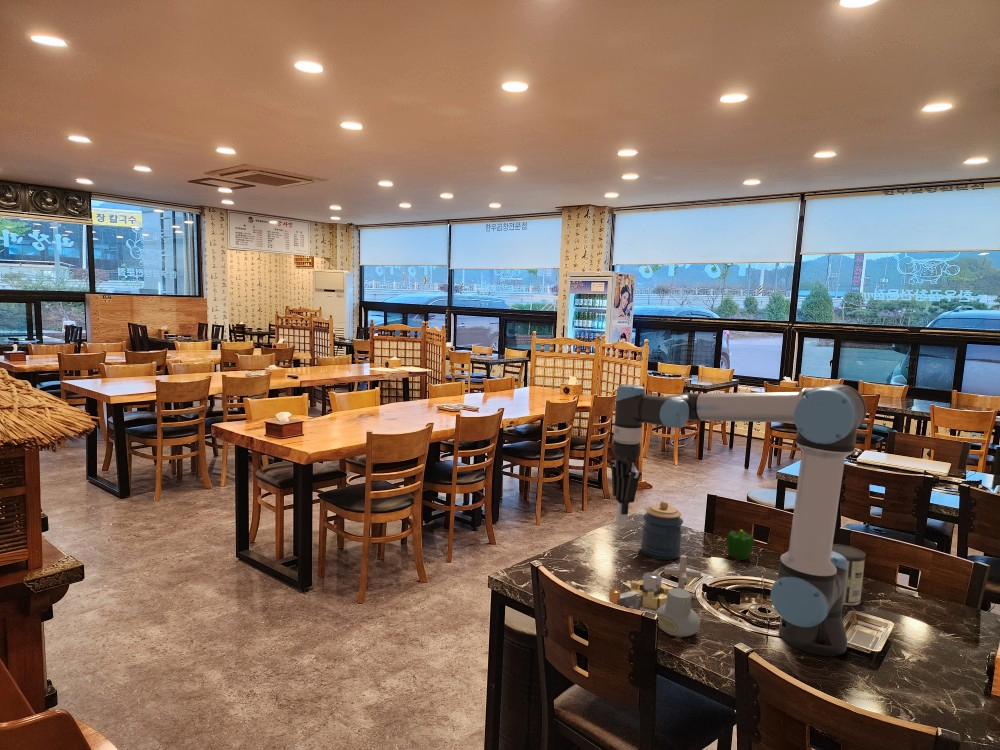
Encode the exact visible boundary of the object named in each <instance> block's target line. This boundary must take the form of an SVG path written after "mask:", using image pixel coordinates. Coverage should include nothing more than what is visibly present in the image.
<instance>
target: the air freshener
mask: <svg viewBox="0 0 1000 750" xmlns="http://www.w3.org/2000/svg"><path fill="white" fill-rule="evenodd" d="M692 596H693V595H692V594H691V592H689V591H688V590H686V589H685V588H684V589H679V588H678V587H676V588H675V587H674V588H672V589H670V590H668V592H667V602H666V604H665V605H662V606H661V607H659V608H658V609H657V611H656V613H655V614H657V616H658V620H659V626H658V627H659V628H660V629H661V630H662V631H663V632H665V633H666V634H668V635H670V636H674V637H679V638H684V637H685V638H686V637H689V636H693V635H695V634H696V633H697V632H698V631H699V629H700V626H701V619H700V616H699V615H698V614H697V613H696V611H694V609H692Z"/></svg>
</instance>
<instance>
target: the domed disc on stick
mask: <svg viewBox="0 0 1000 750" xmlns="http://www.w3.org/2000/svg"><path fill="white" fill-rule="evenodd" d="M672 588H673V586H672V587H671V586H668V585H666V584H665V583H663V582H661V593H660V594H659V595H654V591H653V590H648V594H646V593H644V592H643V591H642V590H643V579H640V580H633V579H632V580H631V585H630V589H629V590H630V592H629V591H627V592H626V591H625V592H623V593H621V590H619V589H616V588H612V589H609V597H608V598H609V599H608V602H609V601H610V602H612V603H614V604H617V605H620V606H624V607H625V608H629V606H633V605H634V598H635V594H640V595H641V603H640V606H641V605H642V607H647V608H652V609H657V608H659V607H661V606H662V605H665V604H666V602H667V592H668V590H670V589H672Z"/></svg>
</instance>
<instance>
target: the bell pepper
mask: <svg viewBox="0 0 1000 750" xmlns="http://www.w3.org/2000/svg"><path fill="white" fill-rule="evenodd" d="M726 546H727V547H726V548H727V551H728V552H727V553H728V555H729V556H730V557H732V558H734V559H736V560H741V561H745V560H747V559H748V558H749V557H750V555H751V553H752V551H753V547H754V537H753V535H752V534H748V533H746V532H745V531H744V530H743V529H739V531H738V532H736V531H735V530H731V531H730V532H729V533H728V535H727V537H726Z"/></svg>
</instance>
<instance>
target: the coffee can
mask: <svg viewBox="0 0 1000 750" xmlns="http://www.w3.org/2000/svg"><path fill="white" fill-rule="evenodd" d="M832 551H833V552H836V553H839V554H841V555H842V556H844V557H845V558H846V560H847V569H848V571H847V573H846V582H845V591H844V600H843V606H858V605H860V604H861V602H862V601H861V598H862V592H863V591H862V590H863V589H862V588H863V579H864V573H865V572H864V571H865V560H866V558H867V555H866V553H865V551H863V550H861V549H859V548H856V547H855V546H850V545H846V544H840V543H833V546H832Z"/></svg>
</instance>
